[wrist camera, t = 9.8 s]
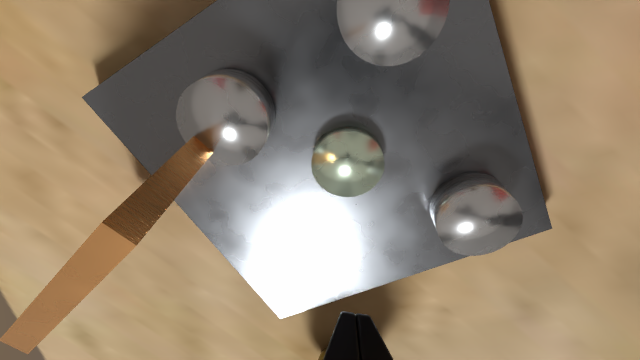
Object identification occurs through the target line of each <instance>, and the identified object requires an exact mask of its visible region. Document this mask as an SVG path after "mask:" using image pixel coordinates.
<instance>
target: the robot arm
mask: <svg viewBox="0 0 640 360" xmlns="http://www.w3.org/2000/svg"><path fill="white" fill-rule="evenodd" d="M323 360H393V358H392V356H391V354H390V352H389V351H388V349H387V347H386V345H385V343H384V341H383V339H382V337H381V336H380V334H379V332H378V330H377V328H376V326H375V324H374V322H373V320H372V319H371V317H370V316H369V315H364V314H356V315H355V314H354V313H351V312H344V311H342V312H341V313H340V316H339V318H338V321H337V324H336V326H335V329H334V332H333V334H332V337H331V340H330V342H329V345H328V347H327V350H326V353H325V355H324V358H323Z"/></svg>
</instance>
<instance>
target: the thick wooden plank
mask: <svg viewBox="0 0 640 360" xmlns="http://www.w3.org/2000/svg"><path fill="white" fill-rule="evenodd" d="M176 120H177V125H178V129H179V131H180V134H181V136H182V137H183V139H184V141H185V142H186V144H185V145H184V146H183V147H181V148H180V149H179V150H178V151H177V152H176V153H175V154H174V155H173V156H172V157H171V158H170V159H169V160H168V161H167V162H166V163H164V164H163V165H162V166H161V167H160V168H159V169H158V170H157V171H156V172H155V173H154V174H153V175H152V176H151V177H150V178H148V179H147V180H146V181H145V182H144V183H143V184H142V185H141V186H140V187H139V188H138V189H137V190H136V191H135V192H134V193H133V194H131V195H130V196H129V197H128V198H127V199H126V200H125V201H124V202H123V203H122V204H121V205H120V206H119V207H118V208H117V209H116V210H114V211H113V212H112V213H111V214H110V215H109V216H108V217H107V218H106V219H105V220H104V221H103V222H102V223H101V224H100V225H99V226H98V227H97V228H96V230H95V231H94V232H93V233H92V234H91V235H90V236H89V238H88V239H87V240H86V241H85V242H84V243H83V245H82V246H81V247H80V248H79V249H78V250H77V251H76V253H75V254H74V255H73V256H72V257H71V258H70V259H69V261H68V262H67V263H66V264H65V265H64V266H63V267H62V269H61V270H60V271H59V272H58V273H57V274H56V275H55V277H54V278H53V279H52V280H51V281H50V282H49V283H48V285H47V286H46V287H45V288H44V289H43V290H42V292H41V293H40V294H39V295H38V296H37V297H36V298H35V300H34V301H33V302H32V303H31V304H30V305H29V306H28V308H27V309H26V310H25V311H24V312H23V313H22V314H21V316H20V317H19V318H18V319H17V320H16V322H15V323H14V324H13V325H12V326H11V327H10V328H9V329H8V331H7V332H6V333H5V334H4V335H3V336H2V337H1V339H0V341H2V342H4V343H6V344H8V345H10V346H12V347H14V348H16V349H18V350H20V351H22V352H24V353H26V354H28V353H30V352H31V351H32V349H33V348H35V347H36V346H37V345H38V344H39V343H40V342H41V341H42V340H43V339H44V338H45V337H46V336H47V335H48V334H49V333H50V332H51V331H52V330H53V329H54V328H55V327H56V326H57V325H58V324H59V323H60V322H61V321H62V320H63V319H64V318H65V317H66V316H67V315H68V314H69V313H70V312H71V311H72V310H73V309H74V308H75V307H76V306H77V305H78V304H79V303H80V302H81V301H82V300H83V299H84V298H85V297H86V296H87V295H88V294H89V293H90V292H91V291H92V290H93V289H94V288H95V287H96V286H97V285H98V284H99V283H100V282H101V281H102V280H103V279H104V278H105V277H106V276H107V275H108V274H109V273H110V272H111V271H112V270H113V269H114V268H115V267H116V266H117V265H118V264H119V263H120V262H121V261H122V260H123V259H124V258H125V257H126V256H127V255H128V254H129V253H130V252H131V251H132V250H133V249H134V247H135V246H136V245H137V244H138V243H139V242H140V241H141V239H142V238H143V237H144V236H145V235H146V233H147V232H148V231H149V230H150V229H151V227H152V226H153V225H154V224H155V222H156V221H157V220H158V219H159V218H160V216H161V215H162V214H163V213H164V212H165V210H166V209H167V208H168V207H169V206H170V204H171V203H172V202H173V201H174V199H175V198H176V197H177V196H178V195H179V193H180V192H181V191H182V190H183V189H184V187H185V186H186V185H187V184H188V182H189V181H190V180H191V179H192V178H193V176H194V175H195V174H196V173H197V172H198V170H199V169H200V168H201V167H202V166H203V164H204V163H205V162H206V161H210V162H212V163H215V164H219V165H225V166H234V165H240V164H244V163H246V162H248V161H250V160H252V159H253V158H254V157H256V156H257V155H258V154H259V152H260V151H261V150H262V148H263V147H264V145H265V143H266V141H267V139H268V137H269V135H270V133H271V131H272V129H273V126H274V122H275V108H274V104H273V101H272V98H271V96H270V94H269V93H268V91H267V90H266V88H265V87H264V86H263V85H262V84H261V83H260V82H259V81H258V80H257V79H256V78H254V77H253V76H251V75H249V74H247V73H245V72H243V71H239V70H235V69H221V70H217V71H214V72H212V73H210V74H208V75H206V76H204V77H203V78H201V79H199V80H198V81H196V82H194V83H192V84H191V85H190V86H188V87H187V88H186V89H185V90H184V92H183V93H182V94H181V96H180V98H179V100H178V104H177V108H176Z"/></svg>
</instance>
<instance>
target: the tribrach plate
mask: <svg viewBox="0 0 640 360" xmlns="http://www.w3.org/2000/svg"><path fill="white" fill-rule="evenodd" d="M221 69H235V70H239V71H243V72H245V73H247V74H249V75H251V76H253V77H254V78H256V79H257V80H258V81H259V82H260V83H261V84H262V85H263V86H264V87H265V88H266V90H267V91H268V93H269V94H270V96H271V98H272V101H273V104H274V108H275V122H274V126H273V129H272V131H271V133H270V135H269V137H268V139H267V141H266V143H265V145H264V147H263V148H262V150H261V151H260V152H259V154H258V155H257V156H256V157H254V158H253V159H252V160H250V161H248V162H246V163H244V164H240V165H234V166H225V165H219V164H215V163H212V162H210V161H206V162H205V163H204V164H203V166H202V167H201V168H200V169H199V170H198V172H197V173H196V174H195V175H194V176H193V178H192V179H191V180H190V181H189V182H188V184H187V185H186V186H185V187H184V189H183V190H182V191H181V192H180V193H179V195H178V196H177V197H176V198H175V199H174V201H175V202H176V203H177V204H178V205H179V206H180V208H181V209H182V210H183V211H184V212H185V213H186V214H187V215H188V216H189V218H190V219H191V220H192V221H193V222H194V223H195V224H196V225H197V226H198V228H199V229H200V230H201V231H202V232H203V233H204V234H205V235H206V237H207V238H208V239H209V240H210V241H211V242H212V243H213V244H214V245H215V247H216V248H217V249H218V250H219V251H220V252H221V253H222V254H223V256H224V257H225V258H226V259H227V260H228V261H229V262H230V263H231V264H232V266H233V267H234V268H235V269H236V270H237V271H238V272H239V273H240V274H241V276H242V277H243V278H244V279H245V280H246V281H247V282H248V283H249V285H250V286H251V287H252V288H253V289H254V290H255V291H256V292H257V293H258V295H259V296H260V297H261V298H262V299H263V300H264V301H265V302H266V304H267V305H268V306H269V307H270V308H271V309H272V310H273V311H274V312H275V314H276V315H277V316H278V317H279V318H280V319H282V318H285V317H288V316H291V315H294V314H297V313H300V312H303V311H306V310H309V309H312V308H315V307H318V306H321V305H324V304H327V303H330V302H333V301H336V300H339V299H342V298H345V297H348V296H351V295H354V294H357V293H360V292H363V291H366V290H369V289H372V288H375V287H378V286H381V285H384V284H387V283H390V282H393V281H396V280H399V279H402V278H405V277H408V276H411V275H414V274H417V273H420V272H423V271H426V270H429V269H432V268H435V267H438V266H441V265H444V264H447V263H450V262H453V261H456V260H459V259H462V258H465V257H468V256H476V255H484V254H488V253H491V252H494V251H496V250H498V249H500V248H502V247H504V246H505V245H507V244H508V243H510V242H513V241H516V240H519V239H522V238H525V237H528V236H531V235H534V234H537V233H540V232H543V231H546V230H549V229H552V226H551V223H550V219H549V216H548V212H547V208H546V205H545V201H544V198H543V194H542V190H541V187H540V183H539V180H538V176H537V172H536V169H535V165H534V162H533V158H532V154H531V151H530V147H529V144H528V140H527V136H526V133H525V129H524V126H523V122H522V118H521V115H520V111H519V108H518V104H517V100H516V97H515V93H514V90H513V86H512V82H511V79H510V75H509V72H508V68H507V64H506V61H505V57H504V54H503V50H502V47H501V43H500V39H499V36H498V32H497V29H496V25H495V21H494V18H493V14H492V11H491V7H490V3H489V0H217V1H216V2H214V3H213V4H211V5H210V6H209V7H207V8H206V9H204V10H203V11H202V12H200V13H199V14H197V15H196V16H195V17H193V18H192V19H190V20H189V21H188V22H186V23H185V24H183V25H182V26H181V27H179V28H178V29H176V30H175V31H174V32H172V33H171V34H169V35H168V36H167V37H165V38H164V39H162V40H161V41H160V42H158V43H157V44H155V45H154V46H153V47H151V48H150V49H148V50H147V51H146V52H144V53H143V54H141V55H140V56H139V57H137V58H136V59H134V60H133V61H132V62H130V63H129V64H127V65H126V66H125V67H123V68H122V69H120V70H119V71H118V72H116V73H115V74H114V75H112V76H111V77H109V78H108V79H107V80H105V81H104V82H102V83H101V84H100V85H98V86H97V87H95V88H94V89H93V90H91V91H90V92H88V93H87V94H86V95H84V96H83V97H82V98H83V99H84V100H85V101H86V103H87V104H88V105H89V106H90V107H91V108H92V109H93V110H94V111H95V113H96V114H97V115H98V116H99V117H100V118H101V119H102V120H103V122H104V123H105V124H106V125H107V126H108V127H109V128H110V129H111V130H112V132H113V133H114V134H115V135H116V136H117V137H118V138H119V139H120V141H121V142H122V143H123V144H124V145H125V146H126V147H127V148H128V149H129V151H130V152H131V153H132V154H133V155H134V156H135V157H136V158H137V160H138V161H139V162H140V163H141V164H142V165H143V166H144V167H145V168H146V170H147V171H148V172H149V173H150V174H151V175H153V174H154V173H155V172H156V171H157V170H158V169H159V168H160V167H161V166H162V165H163V164H164V163H166V162H167V161H168V160H169V159H170V158H171V157H172V156H173V155H174V154H175V153H176V152H177V151H178V150H179V149H180V148H181V147H183V146H184V145H185V144H186V142H185V141H184V139H183V137H182V136H181V134H180V131H179V129H178V125H177V120H176V108H177V104H178V100H179V98H180V96H181V94H182V93H183V92H184V90H185V89H186V88H187V87H188V86H190V85H191V84H192V83H194V82H196V81H198V80H199V79H201V78H203V77H204V76H206V75H208V74H210V73H212V72H214V71H217V70H221Z"/></svg>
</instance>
